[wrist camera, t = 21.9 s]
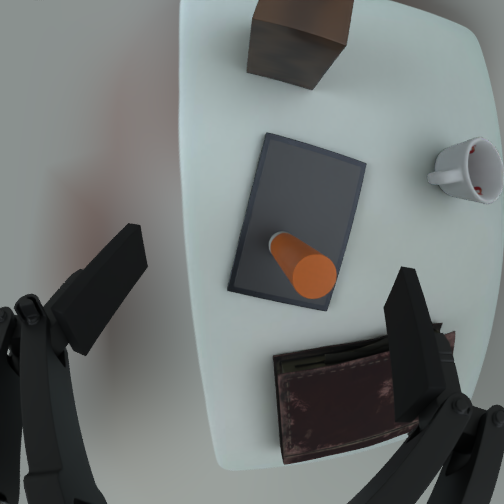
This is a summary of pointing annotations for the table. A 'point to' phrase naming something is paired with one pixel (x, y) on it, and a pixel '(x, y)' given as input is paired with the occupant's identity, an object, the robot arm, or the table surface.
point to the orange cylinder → (303, 265)
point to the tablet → (295, 215)
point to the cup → (470, 171)
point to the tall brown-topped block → (297, 39)
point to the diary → (337, 399)
